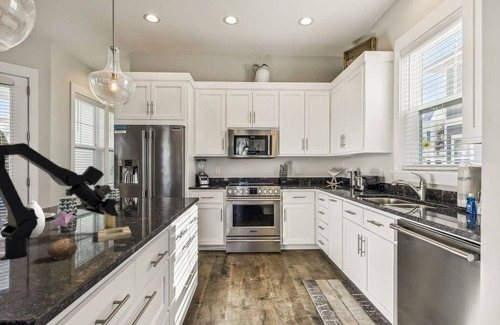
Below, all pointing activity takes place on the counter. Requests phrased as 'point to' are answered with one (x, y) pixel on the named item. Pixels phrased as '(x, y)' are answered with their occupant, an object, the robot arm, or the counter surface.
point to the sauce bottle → (40, 221)
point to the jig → (114, 234)
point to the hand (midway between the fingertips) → (111, 215)
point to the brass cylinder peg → (109, 221)
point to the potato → (62, 249)
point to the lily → (63, 219)
